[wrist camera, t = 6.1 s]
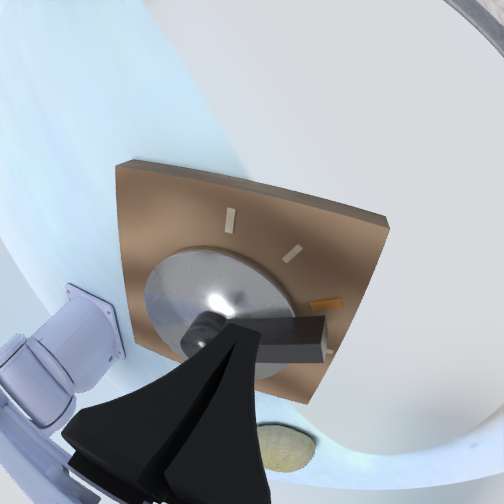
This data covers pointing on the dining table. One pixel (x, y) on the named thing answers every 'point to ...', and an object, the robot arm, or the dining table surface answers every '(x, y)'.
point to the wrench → (484, 18)
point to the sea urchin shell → (284, 448)
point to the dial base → (249, 249)
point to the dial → (230, 308)
